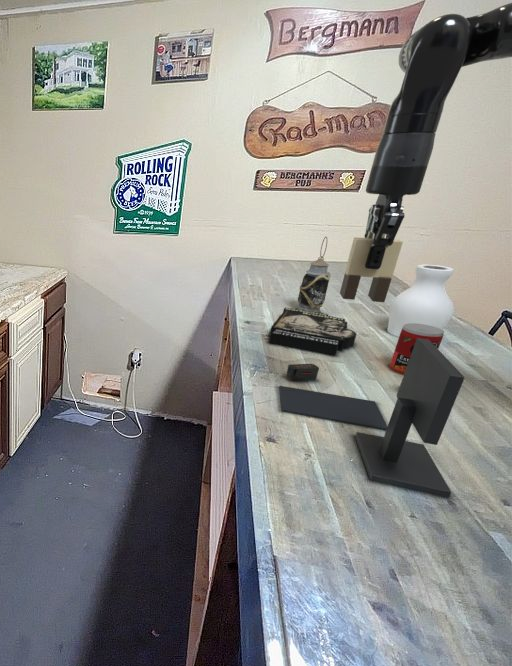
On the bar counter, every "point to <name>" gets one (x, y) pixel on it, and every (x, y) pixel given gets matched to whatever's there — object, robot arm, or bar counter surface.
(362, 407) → the mat
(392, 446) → the monitor
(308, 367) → the wireless earbuds
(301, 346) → the decorative sign
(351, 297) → the small wooden bench
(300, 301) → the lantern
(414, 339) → the canned food
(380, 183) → the robot arm
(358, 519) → the bar counter surface
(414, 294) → the vase
